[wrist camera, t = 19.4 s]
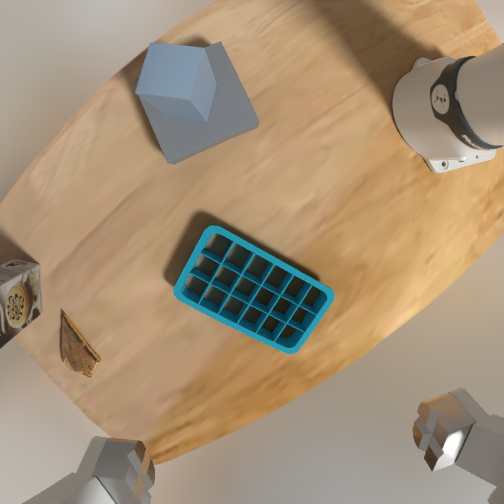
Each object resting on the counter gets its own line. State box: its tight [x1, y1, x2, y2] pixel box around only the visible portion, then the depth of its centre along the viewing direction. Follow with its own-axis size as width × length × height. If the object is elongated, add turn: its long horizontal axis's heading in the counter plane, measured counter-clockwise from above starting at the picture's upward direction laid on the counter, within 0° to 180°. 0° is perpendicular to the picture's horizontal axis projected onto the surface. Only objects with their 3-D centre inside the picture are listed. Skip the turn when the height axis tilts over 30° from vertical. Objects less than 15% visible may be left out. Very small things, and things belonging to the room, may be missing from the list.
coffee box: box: [0, 259, 43, 348], centre depth 37 cm, size 9×6×16 cm
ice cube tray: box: [173, 225, 334, 354], centre depth 45 cm, size 12×20×3 cm, turn 60°
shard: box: [61, 314, 101, 378], centre depth 47 cm, size 11×8×2 cm
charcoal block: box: [133, 41, 260, 164], centre depth 37 cm, size 12×12×5 cm
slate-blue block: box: [135, 43, 217, 123], centre depth 29 cm, size 5×5×12 cm
